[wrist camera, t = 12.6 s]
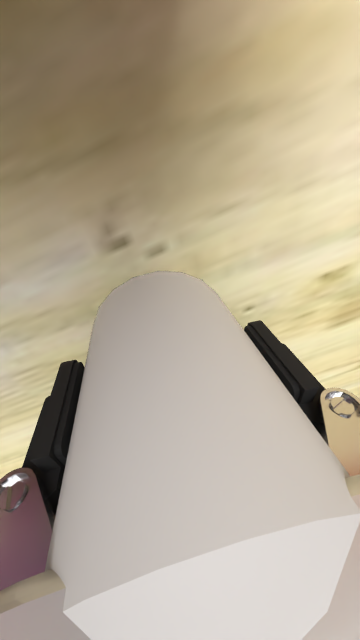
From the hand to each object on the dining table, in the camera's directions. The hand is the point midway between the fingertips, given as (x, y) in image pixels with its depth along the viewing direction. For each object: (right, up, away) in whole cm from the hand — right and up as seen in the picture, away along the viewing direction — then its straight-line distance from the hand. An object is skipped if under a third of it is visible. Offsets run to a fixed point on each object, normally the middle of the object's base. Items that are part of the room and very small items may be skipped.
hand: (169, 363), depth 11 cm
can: (-1, +2, +3) cm, 4 cm away
